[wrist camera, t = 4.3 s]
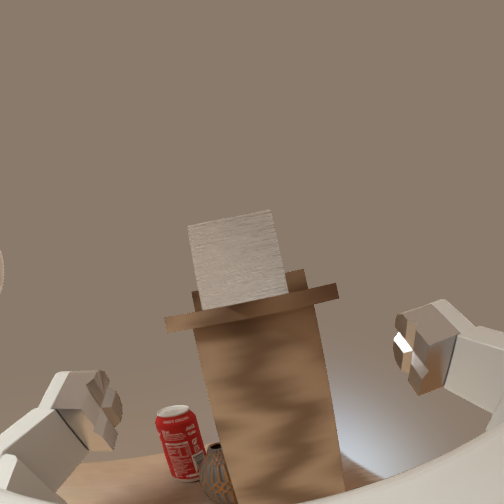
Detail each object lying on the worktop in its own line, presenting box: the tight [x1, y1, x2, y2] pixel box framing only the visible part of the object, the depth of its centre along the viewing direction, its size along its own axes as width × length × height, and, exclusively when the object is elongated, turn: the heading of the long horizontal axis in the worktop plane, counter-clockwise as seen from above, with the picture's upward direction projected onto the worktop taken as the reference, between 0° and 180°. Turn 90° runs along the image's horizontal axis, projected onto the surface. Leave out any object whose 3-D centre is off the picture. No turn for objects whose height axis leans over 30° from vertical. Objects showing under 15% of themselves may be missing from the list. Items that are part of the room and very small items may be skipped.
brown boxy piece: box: [164, 269, 345, 504], centre depth 24 cm, size 11×12×28 cm
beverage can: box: [155, 405, 206, 482], centre depth 42 cm, size 6×6×12 cm
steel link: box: [187, 209, 289, 310], centre depth 20 cm, size 5×18×4 cm, turn 0°
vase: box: [199, 442, 238, 504], centre depth 34 cm, size 7×7×9 cm
